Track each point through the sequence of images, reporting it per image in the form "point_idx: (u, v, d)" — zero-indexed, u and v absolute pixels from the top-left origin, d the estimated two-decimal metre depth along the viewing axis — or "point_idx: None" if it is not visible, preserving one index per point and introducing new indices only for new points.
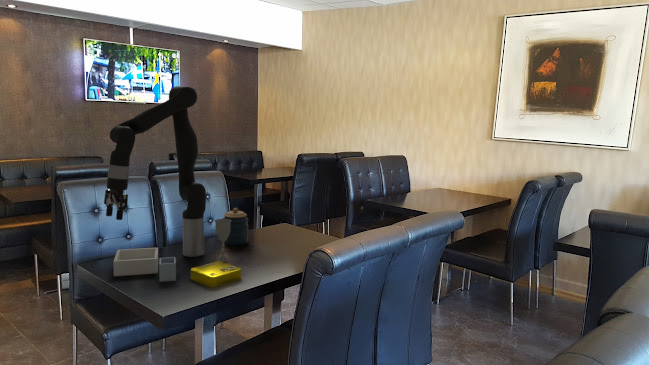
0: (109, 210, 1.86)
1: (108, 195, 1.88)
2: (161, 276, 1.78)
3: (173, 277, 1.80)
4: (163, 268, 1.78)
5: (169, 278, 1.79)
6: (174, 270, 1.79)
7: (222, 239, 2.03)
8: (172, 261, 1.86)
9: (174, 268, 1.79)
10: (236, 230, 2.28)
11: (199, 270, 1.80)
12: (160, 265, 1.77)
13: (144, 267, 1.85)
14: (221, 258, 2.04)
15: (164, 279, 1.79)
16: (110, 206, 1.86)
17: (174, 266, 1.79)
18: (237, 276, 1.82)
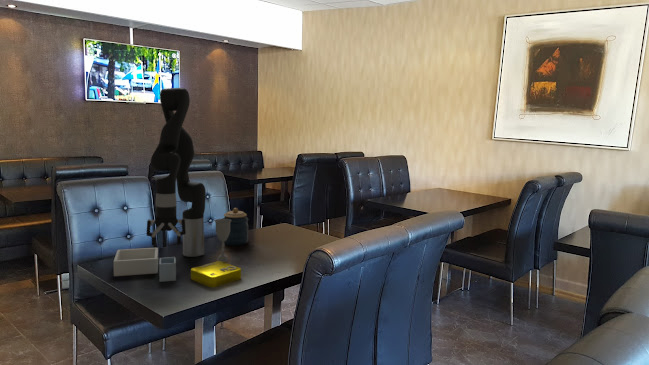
0: (155, 240, 1.79)
1: None
2: (161, 276, 1.78)
3: (173, 277, 1.80)
4: (163, 268, 1.78)
5: (169, 278, 1.79)
6: (174, 270, 1.79)
7: (222, 239, 2.03)
8: (172, 261, 1.86)
9: (174, 268, 1.79)
10: (236, 230, 2.28)
11: (199, 270, 1.81)
12: (160, 265, 1.77)
13: (144, 267, 1.85)
14: (221, 258, 2.04)
15: (164, 279, 1.79)
16: (155, 236, 1.79)
17: (174, 266, 1.79)
18: (237, 276, 1.82)
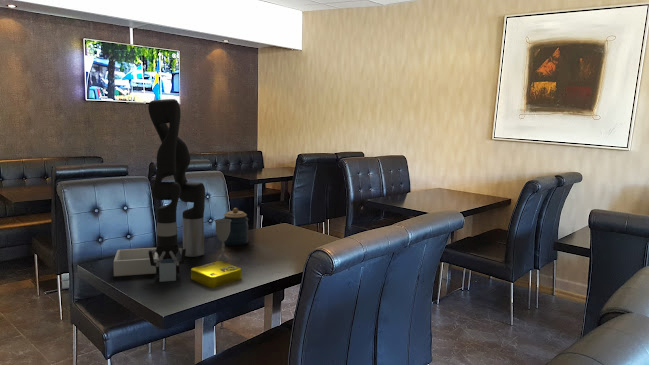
0: None
1: None
2: (161, 276, 1.78)
3: (173, 277, 1.79)
4: (163, 268, 1.78)
5: (169, 278, 1.79)
6: (174, 270, 1.79)
7: (222, 239, 2.03)
8: (172, 261, 1.86)
9: (174, 267, 1.79)
10: (236, 230, 2.28)
11: (199, 270, 1.81)
12: (160, 265, 1.77)
13: (144, 267, 1.85)
14: (221, 258, 2.04)
15: (164, 279, 1.79)
16: None
17: (174, 266, 1.79)
18: (237, 276, 1.82)
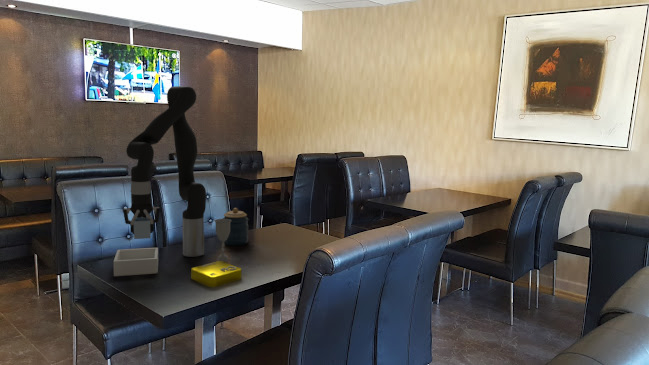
0: None
1: None
2: (136, 233, 1.83)
3: (147, 234, 1.85)
4: (137, 226, 1.83)
5: (143, 235, 1.85)
6: (148, 228, 1.85)
7: (222, 239, 2.03)
8: (147, 220, 1.91)
9: (148, 225, 1.85)
10: (236, 230, 2.28)
11: (199, 270, 1.81)
12: (134, 222, 1.83)
13: (144, 267, 1.85)
14: (221, 258, 2.04)
15: (139, 236, 1.84)
16: None
17: (148, 224, 1.85)
18: (237, 276, 1.82)
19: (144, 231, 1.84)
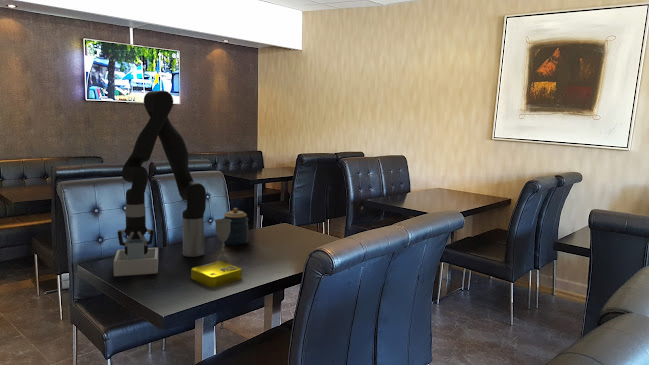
0: None
1: None
2: (129, 255, 1.87)
3: (141, 256, 1.88)
4: (131, 248, 1.86)
5: (137, 257, 1.88)
6: (142, 250, 1.88)
7: (222, 239, 2.03)
8: (141, 242, 1.94)
9: (142, 247, 1.88)
10: (236, 230, 2.28)
11: (199, 270, 1.81)
12: (128, 244, 1.86)
13: (144, 267, 1.85)
14: (221, 258, 2.04)
15: (132, 258, 1.87)
16: None
17: (142, 246, 1.88)
18: (237, 276, 1.82)
19: (138, 253, 1.88)
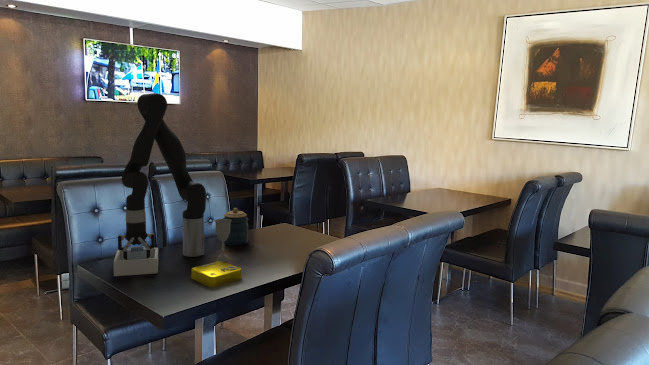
0: None
1: None
2: None
3: None
4: (132, 257, 1.87)
5: None
6: None
7: (222, 239, 2.03)
8: (142, 250, 1.95)
9: (142, 256, 1.89)
10: (236, 230, 2.28)
11: (200, 270, 1.81)
12: (129, 253, 1.87)
13: (144, 267, 1.85)
14: (221, 258, 2.04)
15: None
16: (126, 250, 1.90)
17: (143, 254, 1.88)
18: (238, 276, 1.82)
19: None
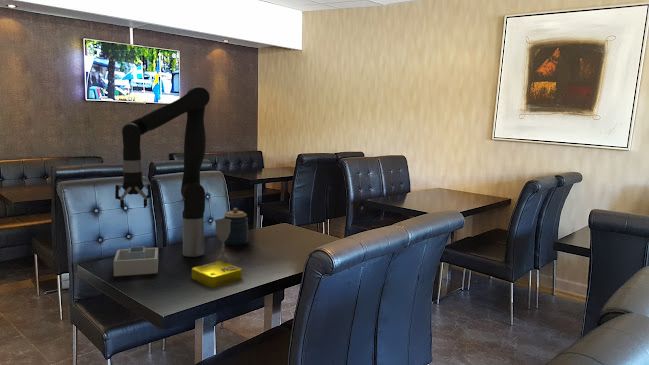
0: (123, 203, 1.98)
1: None
2: None
3: None
4: (132, 257, 1.87)
5: None
6: None
7: (222, 239, 2.03)
8: (142, 250, 1.95)
9: (142, 256, 1.89)
10: (236, 230, 2.28)
11: (200, 269, 1.81)
12: (129, 253, 1.87)
13: (144, 267, 1.85)
14: (221, 258, 2.04)
15: None
16: None
17: (143, 254, 1.88)
18: (238, 276, 1.82)
19: None
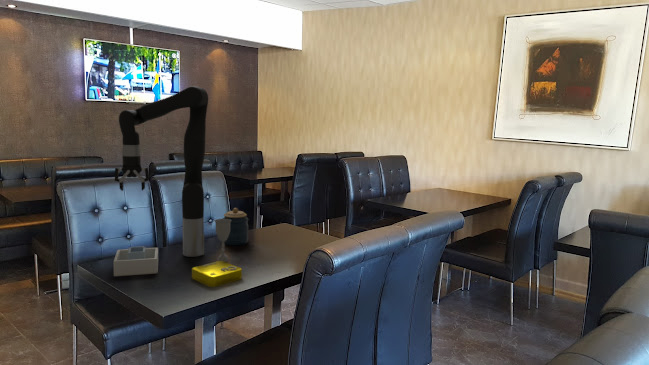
0: None
1: None
2: None
3: None
4: (132, 257, 1.87)
5: None
6: None
7: (222, 239, 2.03)
8: (142, 250, 1.95)
9: (142, 256, 1.89)
10: (236, 230, 2.28)
11: (200, 269, 1.81)
12: (129, 253, 1.87)
13: (144, 267, 1.85)
14: (221, 258, 2.04)
15: None
16: (122, 181, 2.11)
17: (143, 254, 1.88)
18: (238, 276, 1.82)
19: None
